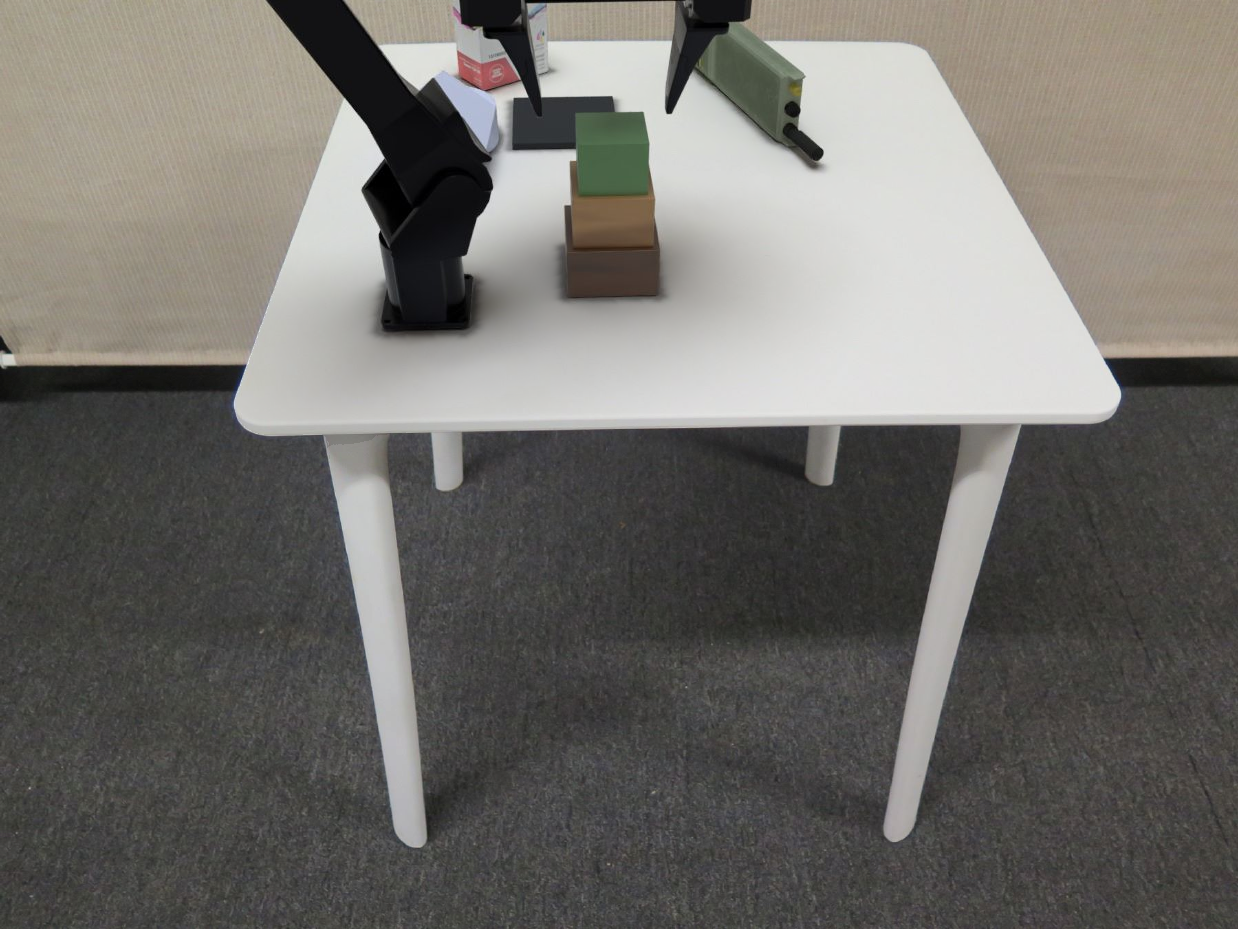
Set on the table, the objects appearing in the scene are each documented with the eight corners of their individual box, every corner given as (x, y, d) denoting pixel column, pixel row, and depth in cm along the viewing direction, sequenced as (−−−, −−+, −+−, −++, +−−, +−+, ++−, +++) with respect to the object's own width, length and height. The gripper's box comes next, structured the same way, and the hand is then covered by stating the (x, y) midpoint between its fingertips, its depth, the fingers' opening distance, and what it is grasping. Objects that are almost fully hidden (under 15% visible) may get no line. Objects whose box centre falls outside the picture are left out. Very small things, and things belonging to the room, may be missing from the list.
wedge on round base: (489, 185, 90) (503, 119, 99) (482, 112, 85) (498, 50, 95) (387, 183, 90) (411, 118, 99) (376, 110, 85) (401, 49, 95)
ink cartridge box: (484, 92, 104) (471, -63, 94) (457, 77, 107) (442, -76, 96) (551, 71, 108) (546, -80, 98) (524, 56, 111) (516, -92, 100)
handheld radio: (716, 61, 110) (833, 164, 93) (688, 67, 109) (801, 172, 93) (718, -2, 105) (842, 94, 89) (689, 3, 105) (809, 101, 88)
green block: (647, 195, 73) (649, 142, 70) (578, 196, 73) (577, 144, 70) (642, 162, 77) (643, 111, 74) (576, 163, 76) (575, 112, 74)
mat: (618, 147, 96) (618, 141, 95) (512, 149, 95) (512, 143, 95) (612, 101, 103) (612, 95, 102) (513, 102, 102) (513, 97, 102)
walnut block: (658, 295, 78) (660, 250, 75) (567, 297, 78) (566, 252, 75) (650, 246, 83) (652, 202, 80) (565, 248, 83) (564, 204, 80)
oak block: (653, 246, 76) (655, 198, 73) (572, 248, 75) (571, 200, 72) (646, 205, 80) (648, 158, 77) (570, 207, 80) (569, 160, 77)
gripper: (735, -168, 68) (716, 64, 79) (454, -166, 66) (474, 69, 77) (766, -122, 60) (740, 129, 71) (447, -119, 58) (471, 136, 69)
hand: (604, 113), depth 72 cm, fingers open, 9 cm apart
